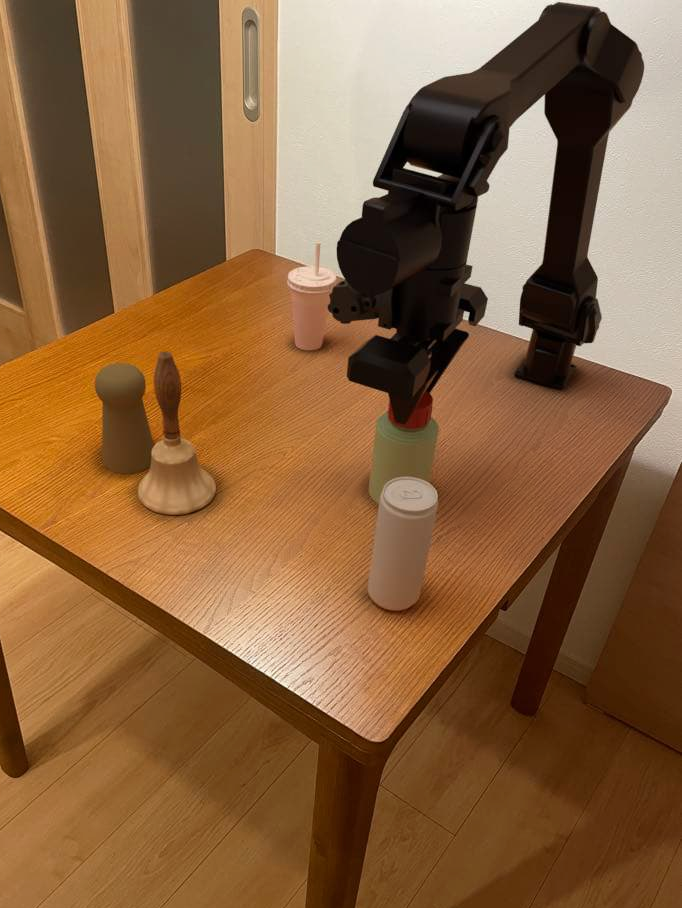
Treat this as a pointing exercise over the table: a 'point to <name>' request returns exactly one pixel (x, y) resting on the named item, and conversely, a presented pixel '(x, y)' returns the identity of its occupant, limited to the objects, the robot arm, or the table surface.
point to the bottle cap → (416, 413)
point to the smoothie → (310, 302)
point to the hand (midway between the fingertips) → (409, 412)
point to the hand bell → (173, 454)
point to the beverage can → (402, 542)
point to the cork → (124, 419)
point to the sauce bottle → (401, 453)
